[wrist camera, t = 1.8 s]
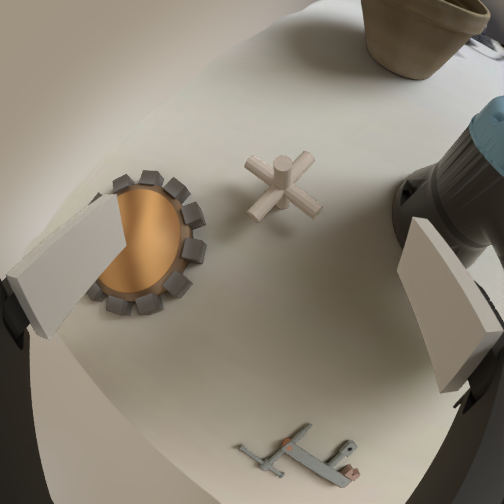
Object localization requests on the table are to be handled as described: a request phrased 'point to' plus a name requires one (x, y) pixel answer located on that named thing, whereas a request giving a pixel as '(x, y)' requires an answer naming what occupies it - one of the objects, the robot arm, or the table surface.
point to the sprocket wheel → (150, 245)
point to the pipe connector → (282, 185)
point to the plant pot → (420, 32)
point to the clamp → (312, 460)
